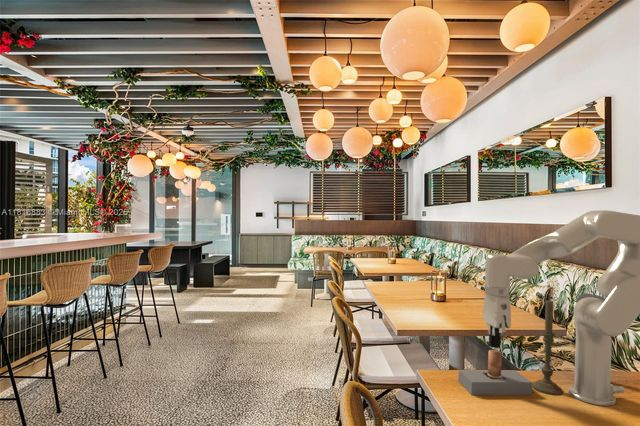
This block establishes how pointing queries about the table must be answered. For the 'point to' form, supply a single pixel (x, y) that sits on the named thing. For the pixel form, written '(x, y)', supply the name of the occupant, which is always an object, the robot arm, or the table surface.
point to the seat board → (494, 383)
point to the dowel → (494, 364)
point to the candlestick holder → (548, 356)
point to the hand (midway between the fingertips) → (494, 346)
